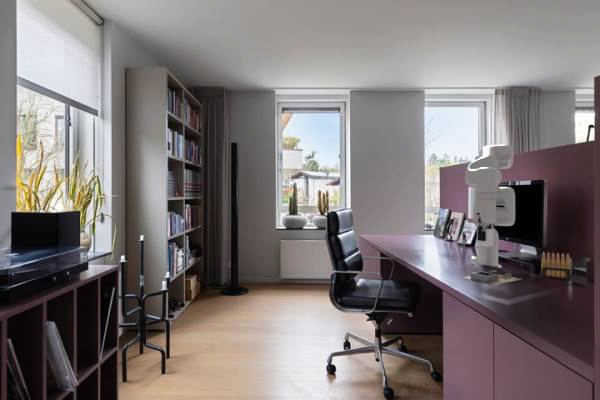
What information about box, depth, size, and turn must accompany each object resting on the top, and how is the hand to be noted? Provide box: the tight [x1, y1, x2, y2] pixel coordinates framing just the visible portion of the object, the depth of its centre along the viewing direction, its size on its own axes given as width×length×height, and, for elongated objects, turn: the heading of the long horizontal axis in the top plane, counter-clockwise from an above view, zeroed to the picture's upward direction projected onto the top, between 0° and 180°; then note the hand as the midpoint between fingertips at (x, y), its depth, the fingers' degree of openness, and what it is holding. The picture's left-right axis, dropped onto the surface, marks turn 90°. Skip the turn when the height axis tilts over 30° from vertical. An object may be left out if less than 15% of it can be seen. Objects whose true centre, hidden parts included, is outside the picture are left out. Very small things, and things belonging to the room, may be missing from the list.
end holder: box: [469, 270, 500, 284], centre depth 140 cm, size 8×8×2 cm
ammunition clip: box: [540, 251, 572, 281], centre depth 150 cm, size 11×2×12 cm, turn 62°
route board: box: [463, 269, 523, 286], centre depth 143 cm, size 14×20×4 cm
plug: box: [476, 226, 495, 246], centre depth 140 cm, size 4×4×8 cm
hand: (485, 239), depth 140 cm, fingers closed on plug, 4 cm apart
